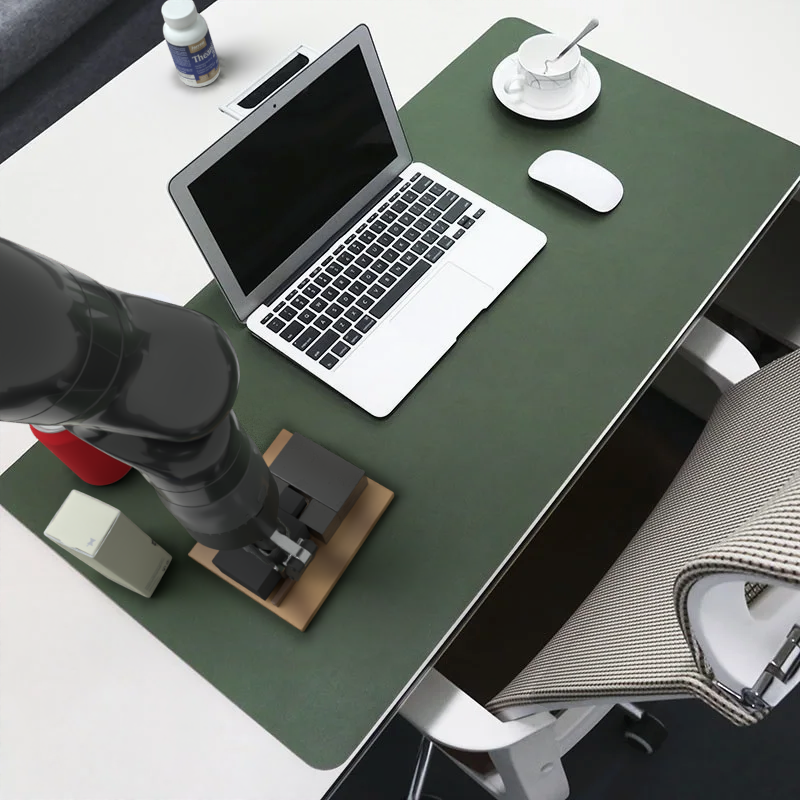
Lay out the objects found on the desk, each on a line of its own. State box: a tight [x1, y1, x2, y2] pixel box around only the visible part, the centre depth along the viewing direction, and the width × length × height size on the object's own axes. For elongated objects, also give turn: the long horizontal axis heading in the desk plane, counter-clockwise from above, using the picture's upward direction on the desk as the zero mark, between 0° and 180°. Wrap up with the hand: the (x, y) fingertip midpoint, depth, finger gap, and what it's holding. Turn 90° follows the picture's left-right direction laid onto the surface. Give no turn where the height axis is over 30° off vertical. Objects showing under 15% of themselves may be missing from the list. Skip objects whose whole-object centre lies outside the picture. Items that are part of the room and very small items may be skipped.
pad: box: [212, 486, 311, 601], centre depth 74 cm, size 9×5×4 cm, turn 147°
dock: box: [187, 428, 395, 633], centre depth 77 cm, size 15×13×4 cm
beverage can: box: [28, 424, 133, 486], centre depth 78 cm, size 6×6×12 cm
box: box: [43, 489, 173, 599], centre depth 72 cm, size 5×4×13 cm
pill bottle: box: [161, 0, 221, 88], centre depth 103 cm, size 5×5×10 cm
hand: (264, 552), depth 75 cm, fingers closed on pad, 5 cm apart
